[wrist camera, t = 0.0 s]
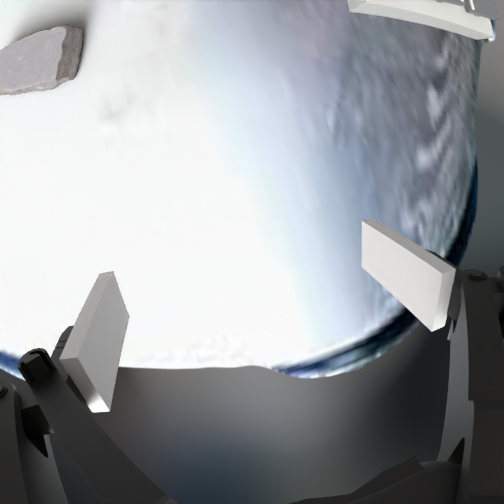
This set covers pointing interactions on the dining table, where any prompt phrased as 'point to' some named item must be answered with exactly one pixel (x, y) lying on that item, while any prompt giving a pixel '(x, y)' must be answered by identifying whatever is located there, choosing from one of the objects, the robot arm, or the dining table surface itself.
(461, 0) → the rocker middle
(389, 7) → the switch console
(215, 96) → the dining table surface
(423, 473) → the robot arm
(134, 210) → the dining table surface
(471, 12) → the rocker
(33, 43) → the decorative stone
